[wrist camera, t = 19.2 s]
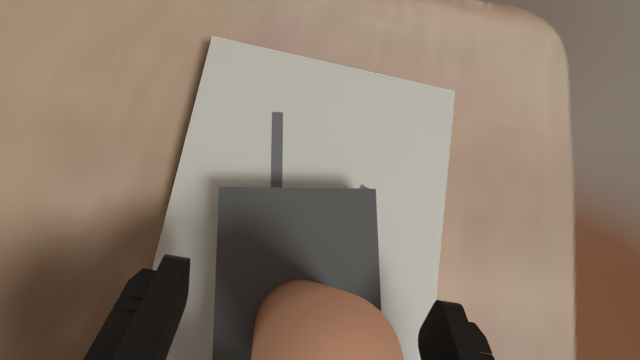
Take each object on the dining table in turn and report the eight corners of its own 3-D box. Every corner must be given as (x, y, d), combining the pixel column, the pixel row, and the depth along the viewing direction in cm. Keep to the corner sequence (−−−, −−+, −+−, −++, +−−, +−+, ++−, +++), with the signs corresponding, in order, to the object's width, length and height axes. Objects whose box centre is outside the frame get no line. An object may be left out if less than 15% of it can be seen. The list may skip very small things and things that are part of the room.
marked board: (379, 727, 15) (392, 777, 14) (48, 711, 14) (24, 764, 12) (441, 103, 21) (455, 90, 20) (215, 52, 20) (212, 35, 18)
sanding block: (370, 447, 16) (491, 649, 7) (215, 460, 15) (157, 704, 7) (361, 198, 18) (447, 140, 10) (224, 197, 17) (189, 132, 9)
